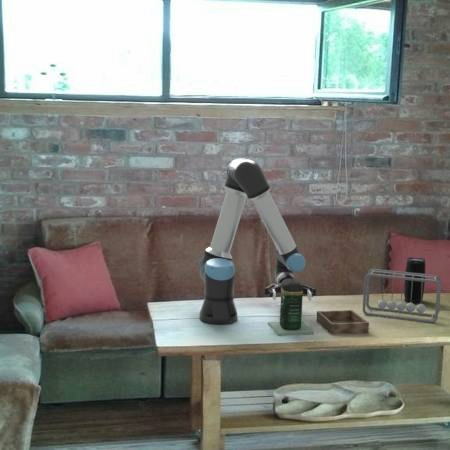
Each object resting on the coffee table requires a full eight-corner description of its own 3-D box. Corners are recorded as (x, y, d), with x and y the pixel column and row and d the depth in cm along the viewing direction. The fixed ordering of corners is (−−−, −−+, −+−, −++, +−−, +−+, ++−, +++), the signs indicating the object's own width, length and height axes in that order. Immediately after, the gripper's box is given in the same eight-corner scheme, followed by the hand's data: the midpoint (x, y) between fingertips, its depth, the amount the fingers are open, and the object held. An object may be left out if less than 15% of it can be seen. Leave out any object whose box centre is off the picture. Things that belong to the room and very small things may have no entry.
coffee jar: (303, 330, 263) (305, 283, 260) (282, 330, 262) (284, 283, 259) (297, 322, 273) (299, 276, 270) (277, 323, 272) (279, 276, 269)
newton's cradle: (438, 317, 289) (441, 275, 286) (437, 324, 279) (440, 281, 276) (365, 308, 299) (368, 268, 296) (362, 314, 289) (364, 273, 286)
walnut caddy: (331, 334, 262) (331, 324, 261) (316, 320, 279) (316, 311, 278) (368, 332, 265) (369, 322, 265) (351, 319, 282) (352, 309, 281)
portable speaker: (423, 299, 315) (426, 257, 311) (422, 305, 306) (426, 261, 302) (403, 297, 317) (406, 255, 314) (402, 303, 308) (406, 259, 305)
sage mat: (277, 335, 259) (277, 333, 259) (267, 323, 273) (267, 322, 273) (313, 333, 262) (313, 331, 262) (301, 322, 276) (302, 320, 276)
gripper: (316, 292, 286) (324, 307, 265) (255, 291, 285) (259, 306, 264) (317, 274, 284) (325, 288, 263) (256, 273, 284) (260, 286, 263)
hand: (292, 297), depth 264 cm, fingers open, 13 cm apart
